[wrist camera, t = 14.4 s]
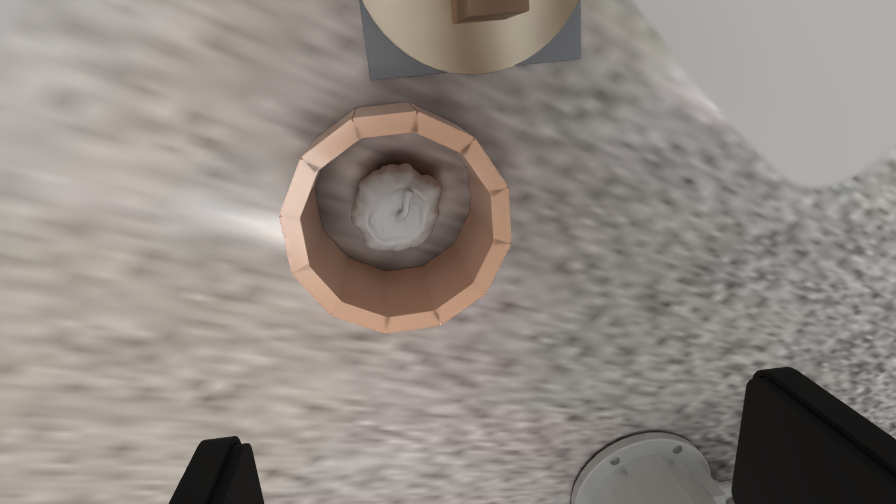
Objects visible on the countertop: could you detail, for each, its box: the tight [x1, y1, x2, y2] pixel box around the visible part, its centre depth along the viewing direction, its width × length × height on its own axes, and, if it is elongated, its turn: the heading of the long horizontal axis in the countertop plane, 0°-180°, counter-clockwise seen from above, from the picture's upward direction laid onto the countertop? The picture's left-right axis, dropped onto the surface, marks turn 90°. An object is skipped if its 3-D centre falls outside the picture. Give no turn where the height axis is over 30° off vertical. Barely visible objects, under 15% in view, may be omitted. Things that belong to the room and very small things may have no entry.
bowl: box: [279, 102, 512, 334], centre depth 30 cm, size 12×12×7 cm
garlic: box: [351, 163, 442, 251], centre depth 31 cm, size 6×5×5 cm
